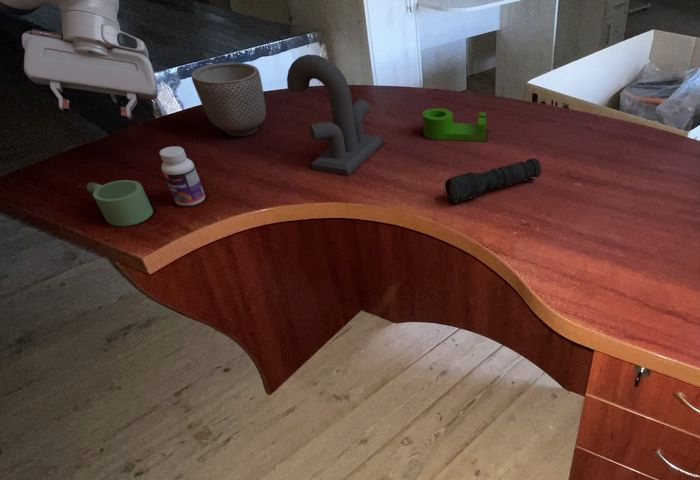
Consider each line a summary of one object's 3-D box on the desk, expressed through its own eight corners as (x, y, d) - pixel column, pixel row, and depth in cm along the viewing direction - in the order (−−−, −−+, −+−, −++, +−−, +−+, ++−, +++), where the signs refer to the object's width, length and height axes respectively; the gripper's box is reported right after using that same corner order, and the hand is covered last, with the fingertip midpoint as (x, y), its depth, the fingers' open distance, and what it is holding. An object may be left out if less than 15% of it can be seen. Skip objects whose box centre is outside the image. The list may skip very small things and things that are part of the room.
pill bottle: (168, 204, 102) (147, 154, 95) (187, 191, 106) (168, 142, 99) (194, 208, 101) (174, 159, 94) (211, 195, 105) (194, 146, 98)
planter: (216, 120, 130) (197, 62, 121) (276, 118, 133) (262, 61, 124) (205, 144, 121) (184, 83, 112) (270, 141, 123) (254, 82, 114)
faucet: (323, 131, 128) (305, 38, 114) (383, 142, 125) (373, 48, 112) (280, 163, 115) (255, 63, 102) (347, 176, 113) (330, 74, 99)
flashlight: (444, 197, 108) (443, 173, 105) (527, 174, 117) (529, 152, 114) (457, 208, 105) (456, 184, 102) (541, 183, 114) (543, 161, 111)
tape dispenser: (421, 138, 128) (420, 119, 125) (425, 126, 133) (424, 107, 130) (484, 141, 128) (485, 122, 125) (485, 129, 133) (486, 110, 130)
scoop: (162, 211, 100) (151, 185, 96) (126, 230, 95) (113, 204, 91) (116, 195, 103) (104, 170, 100) (79, 213, 98) (65, 187, 95)
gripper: (15, 18, 94) (20, 99, 95) (153, 43, 103) (156, 117, 104) (26, 34, 99) (31, 111, 100) (157, 57, 109) (160, 127, 109)
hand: (96, 114), depth 102 cm, fingers open, 8 cm apart
